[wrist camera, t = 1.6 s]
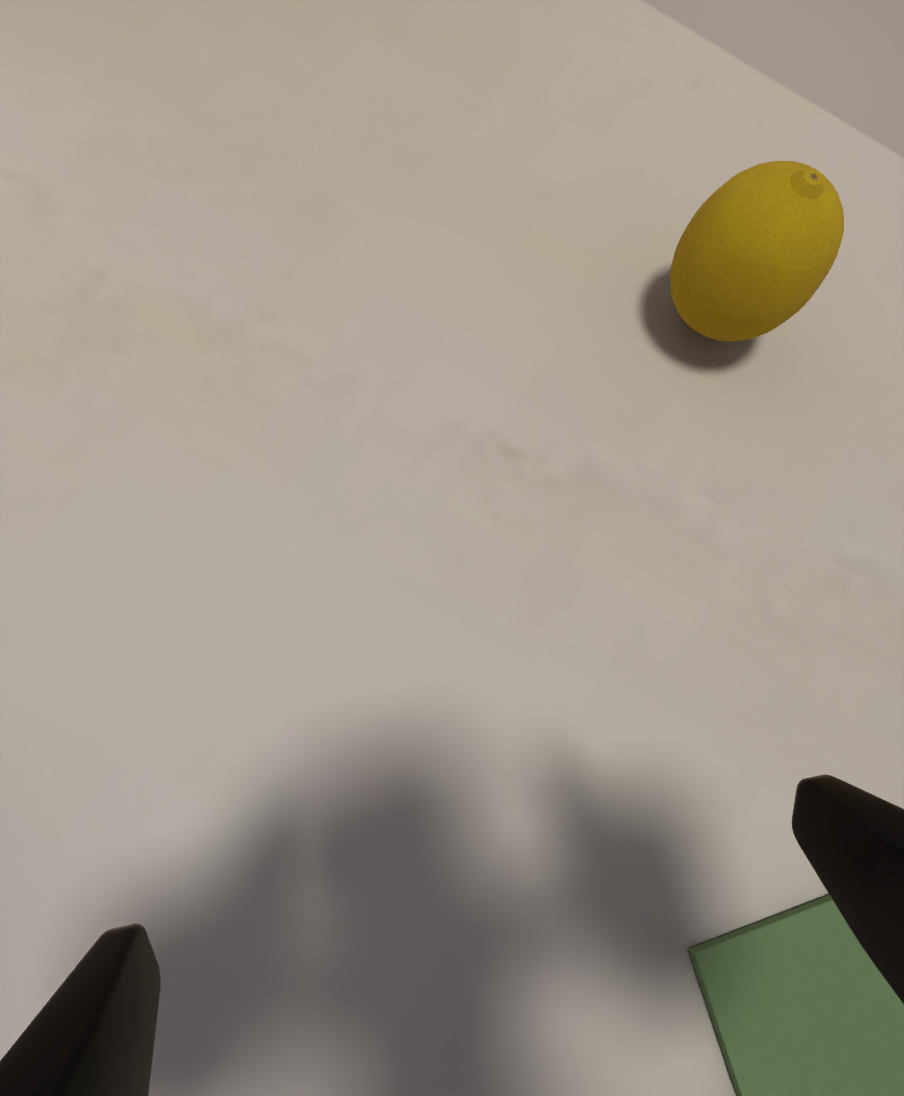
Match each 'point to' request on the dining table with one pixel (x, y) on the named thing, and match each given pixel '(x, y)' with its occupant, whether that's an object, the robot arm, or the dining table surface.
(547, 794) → the dining table surface
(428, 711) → the dining table surface
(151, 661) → the dining table surface
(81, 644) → the dining table surface
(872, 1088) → the towel
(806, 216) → the lemon
